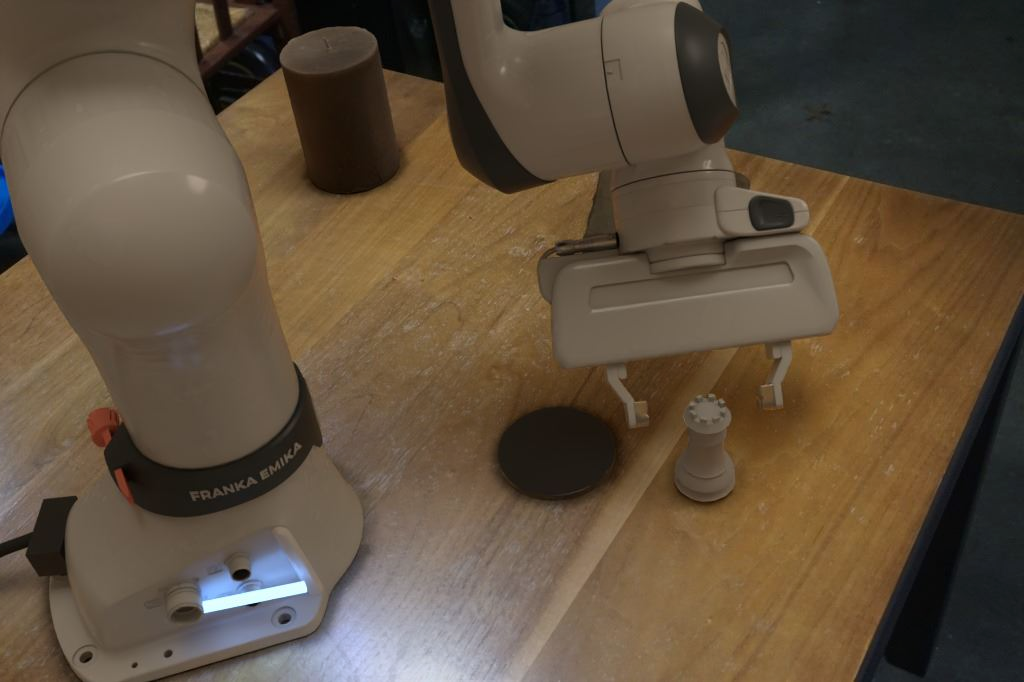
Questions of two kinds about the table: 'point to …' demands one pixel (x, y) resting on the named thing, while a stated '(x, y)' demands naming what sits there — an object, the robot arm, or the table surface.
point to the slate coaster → (556, 453)
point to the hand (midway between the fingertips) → (704, 418)
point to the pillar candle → (341, 108)
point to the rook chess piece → (705, 452)
